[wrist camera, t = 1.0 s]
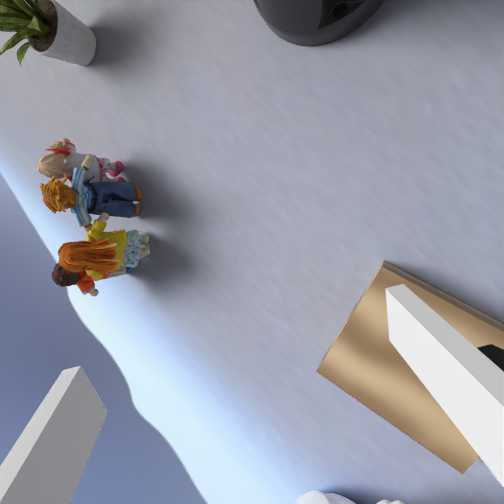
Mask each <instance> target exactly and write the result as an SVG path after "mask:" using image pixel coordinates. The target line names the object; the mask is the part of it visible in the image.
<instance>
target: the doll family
mask: <svg viewBox="0 0 504 504" xmlns="http://www.w3.org/2000/svg"><path fill="white" fill-rule="evenodd" d="M50 147H51V149H46V150H50V151H52V153H54V154H48V155H45V156H44V157H42V158H41V159H40V162H39V163H38V171H39V172H40V173H41V174H43V175H45V176H47V177H49V178H51V181H49V182H48V183H47V184H46V185H44V184H43V183H41V184H40V188H41V191H42V195H43V196H44V197H43V202H44V203H45V205H46V206H47V207H48V208H49V209H50V210H51V211H52V212H53V213H56V211H59V212H61V210H62V211H63V212H66V211H65V209H68V208H71V212H73V213H74V214H75V215H76V220H77V222H78V224H79V226H80V227H81V226H84V229H85V230H86V231H87V232H88V233H87V235H86V236H87V239H86V241H78V242H68V243H63V244H62V246H61V247H60V249H59V250H58V255H59V263H58V264H56V265H55V267H54V271H53V272H52V279H53V280H54V282H55V283H56V284H57V285H60V286H62V287H64V286H70V285H76V284H77V286H78V287H79V288H80V290H81V292H82V293H83V294H84V295H85V294H87V293H90V295H92V296H96V295H98V290H97V289H95V284H94V281H98V280H101V279H107V278H110V277H116V276H120V275H124V274H126V273H130V272H131V270H132V267H133V268H135V267H136V266H137V265H138V262H139V259H142V258H145V257H146V256H148V255H149V254H150V248H149V246H148V245H145V244H147V243H148V242H149V235H148V234H147V233H144V232H138V231H137V230H132V231H128V232H125V230H119V231H114V232H103V230H104V229H105V227H106V225H107V224H106V221H107V220H108V218H109V216H116V217H127V218H131V217H132V216H135V215H137V214H139V212H140V207H139V205H138V204H133V202H132V201H137V200H140V199H141V197H142V193H141V191H140V190H139V189H136V188H133V186H132V184H131V183H125V182H124V180H123V178H122V177H117V178H114V179H109V178H108V177H107V176H106V175H105V173H107V172H108V173H109V174H110V175H111V176H113V177H115V176H117V175H118V174H119V173H120V172H121V170H122V164H121V162H120V161H116V162H114V163H110V160H109V159H107V158H98V157H96V156H95V155H91V154H78V153H76V150H75V146H74V144H72V143H70V141H69V140H68V139H66V138H64V139H62V140H61V141H57V142H54V145H52V146H50ZM46 150H45V151H46ZM62 178H64V179H63V182H62V181H61V180H56V181H57V182H56V181H55V179H62ZM67 178H68V180H69V183H70V187H69V186H67V185H64V182H65V181H66V180H67ZM89 214H96V215H100V217H99V218H98V219H97V220H96V219H95V220H94V224H93V225H92V224H91V223H90V222H91V220H92V218H91V216H90V215H89ZM93 280H94V281H93Z"/></svg>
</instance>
